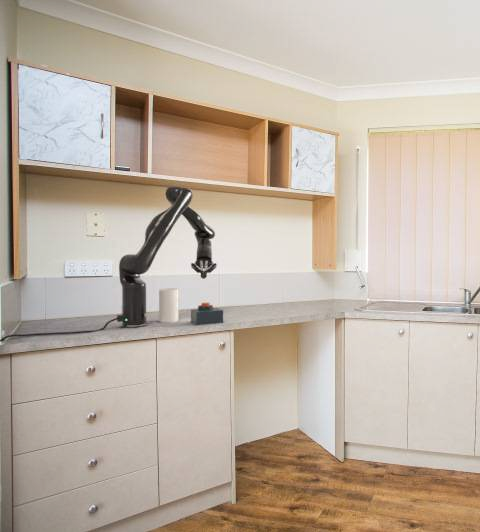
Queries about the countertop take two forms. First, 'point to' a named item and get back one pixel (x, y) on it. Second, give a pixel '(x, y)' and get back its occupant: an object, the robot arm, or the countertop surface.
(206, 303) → the button
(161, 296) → the cup
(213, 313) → the grey button base
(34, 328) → the countertop surface
